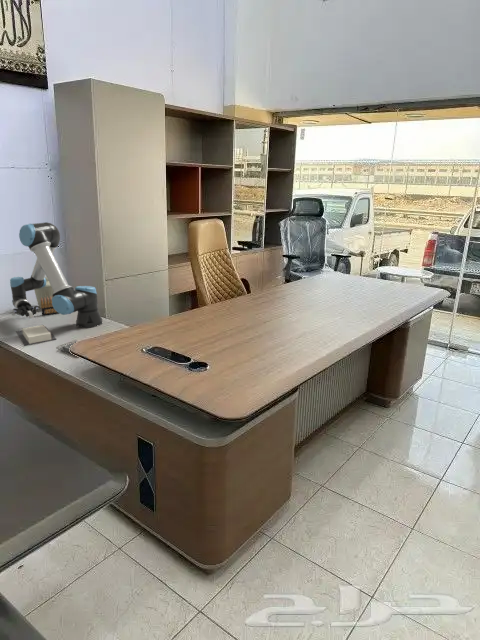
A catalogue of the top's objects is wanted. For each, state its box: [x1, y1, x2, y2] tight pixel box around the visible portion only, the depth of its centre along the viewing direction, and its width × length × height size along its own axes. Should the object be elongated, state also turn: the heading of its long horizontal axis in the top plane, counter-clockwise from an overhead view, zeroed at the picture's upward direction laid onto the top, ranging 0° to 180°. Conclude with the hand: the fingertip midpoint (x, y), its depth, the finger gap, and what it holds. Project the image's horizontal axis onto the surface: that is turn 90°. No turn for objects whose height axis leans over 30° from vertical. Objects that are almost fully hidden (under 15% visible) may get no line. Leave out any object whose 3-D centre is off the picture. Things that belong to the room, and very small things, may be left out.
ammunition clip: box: [40, 296, 61, 317], centre depth 282 cm, size 11×2×12 cm, turn 121°
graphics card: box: [55, 339, 77, 353], centre depth 220 cm, size 17×4×12 cm
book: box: [21, 324, 52, 345], centre depth 239 cm, size 4×11×18 cm
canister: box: [33, 276, 54, 309], centre depth 296 cm, size 18×18×21 cm
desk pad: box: [15, 327, 57, 347], centre depth 243 cm, size 26×16×1 cm, turn 35°
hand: (31, 315), depth 242 cm, fingers closed
